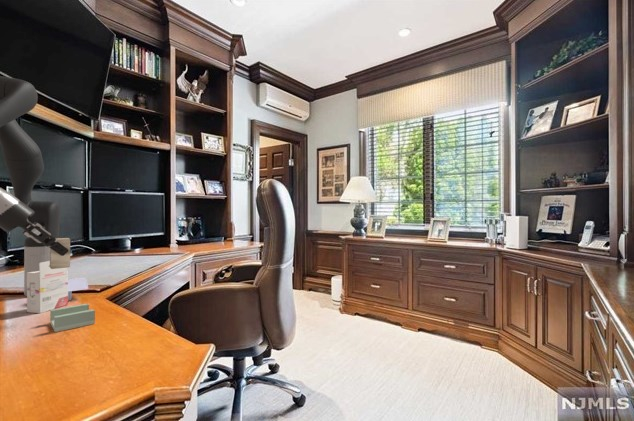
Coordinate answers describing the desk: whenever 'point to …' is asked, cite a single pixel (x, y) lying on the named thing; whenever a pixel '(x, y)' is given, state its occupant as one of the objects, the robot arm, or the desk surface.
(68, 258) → the birch block
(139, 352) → the desk surface
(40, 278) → the ink cartridge box
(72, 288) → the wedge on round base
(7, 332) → the desk surface
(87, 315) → the sage green grooved bar
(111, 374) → the desk surface
